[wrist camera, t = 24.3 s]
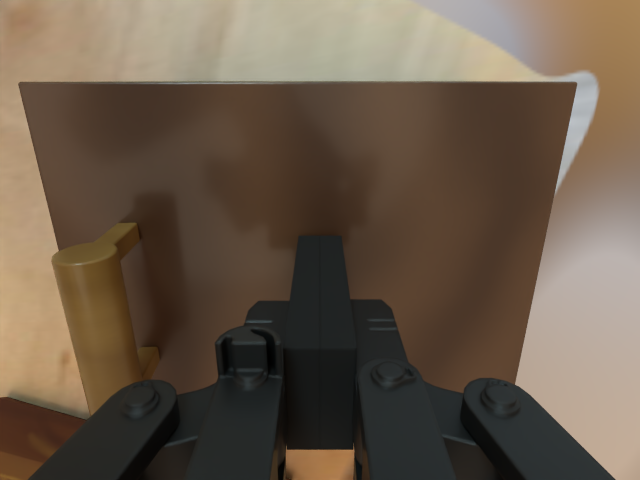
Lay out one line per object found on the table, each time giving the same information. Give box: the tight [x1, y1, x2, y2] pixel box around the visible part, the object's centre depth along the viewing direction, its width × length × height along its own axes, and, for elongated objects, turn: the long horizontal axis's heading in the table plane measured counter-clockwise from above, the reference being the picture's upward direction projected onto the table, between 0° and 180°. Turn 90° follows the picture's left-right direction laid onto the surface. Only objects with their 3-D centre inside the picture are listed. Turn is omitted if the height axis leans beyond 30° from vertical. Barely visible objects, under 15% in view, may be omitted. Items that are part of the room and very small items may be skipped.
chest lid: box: [18, 82, 577, 416], centre depth 14 cm, size 17×15×5 cm
